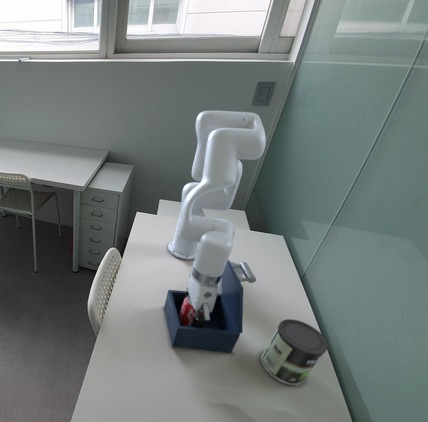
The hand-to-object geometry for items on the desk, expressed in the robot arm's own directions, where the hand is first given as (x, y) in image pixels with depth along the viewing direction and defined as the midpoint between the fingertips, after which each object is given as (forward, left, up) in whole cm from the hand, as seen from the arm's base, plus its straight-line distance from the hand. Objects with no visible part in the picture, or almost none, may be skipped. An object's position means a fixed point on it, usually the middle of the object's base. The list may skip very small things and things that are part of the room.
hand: (192, 313), depth 93 cm
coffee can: (+10, +23, -7) cm, 26 cm away
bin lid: (0, +8, +11) cm, 13 cm away
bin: (0, +2, -7) cm, 7 cm away
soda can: (0, 0, -6) cm, 6 cm away
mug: (-18, +17, -7) cm, 26 cm away
